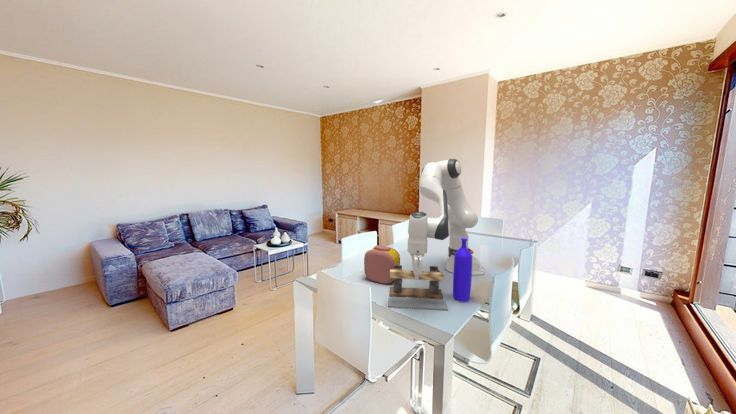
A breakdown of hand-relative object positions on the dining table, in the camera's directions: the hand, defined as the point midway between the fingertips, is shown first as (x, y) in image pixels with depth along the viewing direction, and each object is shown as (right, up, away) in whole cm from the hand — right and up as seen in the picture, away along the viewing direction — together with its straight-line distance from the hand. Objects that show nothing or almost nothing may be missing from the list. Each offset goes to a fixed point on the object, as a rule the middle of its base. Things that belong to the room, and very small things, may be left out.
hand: (416, 277), depth 127 cm
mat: (+1, -13, +2) cm, 14 cm away
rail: (0, -1, 0) cm, 1 cm away
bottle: (+24, -13, +8) cm, 28 cm away
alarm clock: (-14, -9, +30) cm, 34 cm away
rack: (+2, -12, +12) cm, 17 cm away
